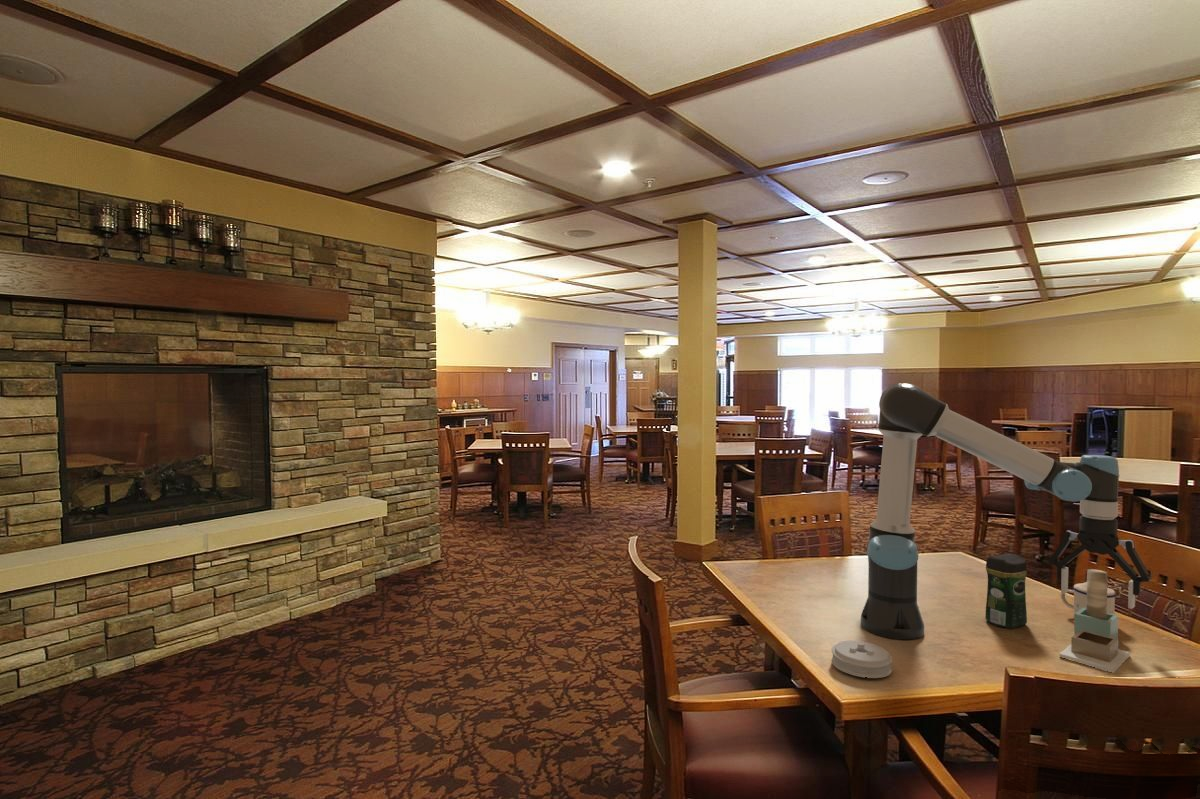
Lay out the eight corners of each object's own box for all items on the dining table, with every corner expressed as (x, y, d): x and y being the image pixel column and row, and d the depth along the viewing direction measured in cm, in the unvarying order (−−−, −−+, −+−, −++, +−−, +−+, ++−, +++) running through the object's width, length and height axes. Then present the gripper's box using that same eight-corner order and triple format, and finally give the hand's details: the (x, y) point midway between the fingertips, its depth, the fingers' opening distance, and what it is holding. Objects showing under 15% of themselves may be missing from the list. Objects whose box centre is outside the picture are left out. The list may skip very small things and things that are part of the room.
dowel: (1103, 642, 154) (1105, 575, 154) (1083, 637, 158) (1085, 571, 157) (1108, 638, 157) (1109, 572, 156) (1088, 633, 160) (1089, 568, 160)
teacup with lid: (1120, 623, 167) (1121, 580, 167) (1108, 631, 162) (1109, 587, 161) (1067, 610, 177) (1067, 569, 176) (1054, 617, 171) (1055, 575, 171)
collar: (1109, 662, 141) (1110, 647, 141) (1071, 651, 147) (1071, 637, 147) (1118, 654, 146) (1118, 639, 145) (1080, 643, 151) (1080, 629, 151)
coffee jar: (1002, 615, 173) (1004, 549, 172) (1032, 625, 165) (1033, 556, 165) (979, 620, 169) (980, 553, 168) (1007, 631, 162) (1009, 560, 161)
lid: (870, 655, 148) (870, 634, 147) (904, 680, 135) (904, 657, 135) (821, 658, 146) (821, 637, 146) (850, 684, 133) (850, 661, 133)
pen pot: (1109, 646, 152) (1110, 622, 152) (1074, 637, 158) (1074, 613, 158) (1117, 639, 157) (1118, 615, 156) (1082, 630, 162) (1083, 607, 162)
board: (1113, 673, 138) (1113, 668, 138) (1059, 657, 146) (1059, 653, 146) (1129, 656, 147) (1129, 652, 147) (1077, 642, 154) (1077, 638, 154)
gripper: (1167, 523, 149) (1165, 610, 149) (1045, 507, 169) (1043, 584, 169) (1160, 527, 144) (1158, 617, 145) (1035, 510, 164) (1034, 589, 164)
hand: (1096, 599), depth 157 cm, fingers open, 13 cm apart
